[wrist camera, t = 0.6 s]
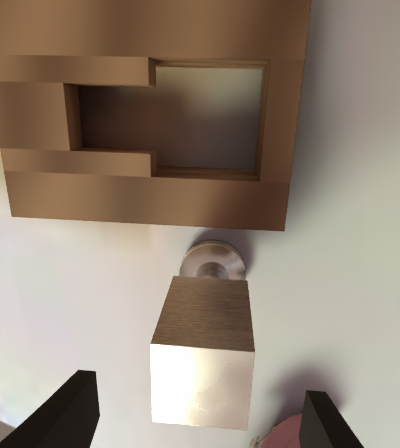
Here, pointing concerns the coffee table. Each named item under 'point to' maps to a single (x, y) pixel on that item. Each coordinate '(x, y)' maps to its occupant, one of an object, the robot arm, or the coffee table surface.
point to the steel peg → (204, 342)
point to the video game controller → (281, 435)
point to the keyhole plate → (143, 77)
